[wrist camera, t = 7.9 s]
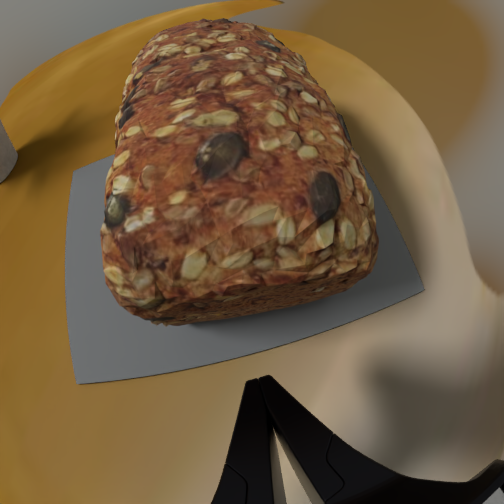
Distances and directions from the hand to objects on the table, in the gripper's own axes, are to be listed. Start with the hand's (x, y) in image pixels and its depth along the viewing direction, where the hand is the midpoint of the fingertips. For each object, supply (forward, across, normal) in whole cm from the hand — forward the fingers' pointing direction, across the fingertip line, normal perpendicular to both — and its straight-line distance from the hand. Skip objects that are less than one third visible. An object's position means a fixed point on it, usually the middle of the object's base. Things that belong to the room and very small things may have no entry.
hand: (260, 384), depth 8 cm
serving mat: (+12, 0, -3) cm, 12 cm away
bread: (+13, -2, -4) cm, 14 cm away
